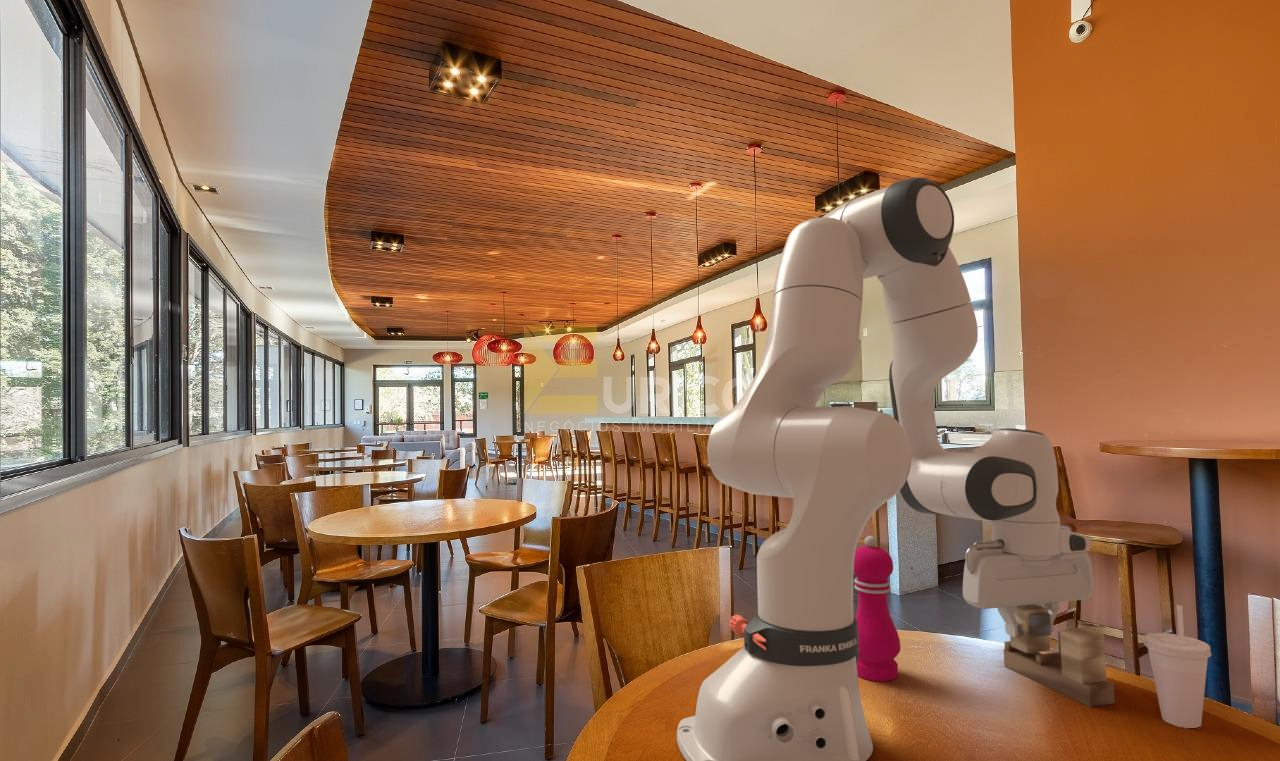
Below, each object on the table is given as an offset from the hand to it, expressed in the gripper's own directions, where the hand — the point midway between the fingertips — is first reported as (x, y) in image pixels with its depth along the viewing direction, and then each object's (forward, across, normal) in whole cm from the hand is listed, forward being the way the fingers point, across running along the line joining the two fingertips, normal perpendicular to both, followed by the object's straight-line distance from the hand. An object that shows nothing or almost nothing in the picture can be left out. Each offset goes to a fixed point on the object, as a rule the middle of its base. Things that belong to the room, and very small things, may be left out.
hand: (1029, 633), depth 94 cm
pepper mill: (+6, -22, +6) cm, 23 cm away
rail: (+6, 0, -4) cm, 7 cm away
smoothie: (+6, +5, -17) cm, 19 cm away
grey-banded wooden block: (+2, 0, 0) cm, 2 cm away
